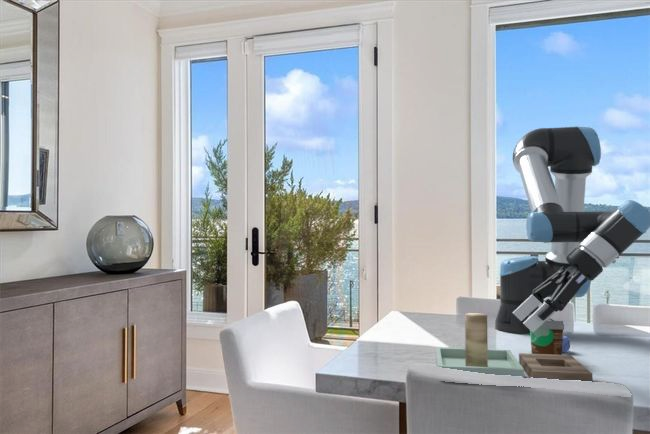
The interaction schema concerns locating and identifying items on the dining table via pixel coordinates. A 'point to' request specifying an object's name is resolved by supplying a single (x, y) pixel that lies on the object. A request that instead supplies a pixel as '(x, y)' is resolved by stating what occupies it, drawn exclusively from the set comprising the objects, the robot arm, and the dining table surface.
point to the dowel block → (554, 367)
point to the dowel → (476, 340)
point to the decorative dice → (565, 344)
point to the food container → (547, 338)
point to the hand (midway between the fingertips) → (521, 322)
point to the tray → (497, 364)
